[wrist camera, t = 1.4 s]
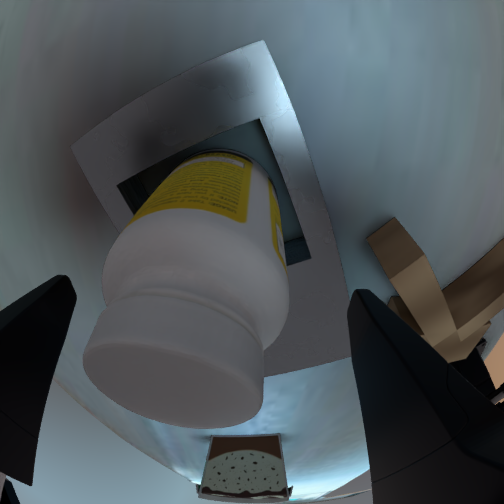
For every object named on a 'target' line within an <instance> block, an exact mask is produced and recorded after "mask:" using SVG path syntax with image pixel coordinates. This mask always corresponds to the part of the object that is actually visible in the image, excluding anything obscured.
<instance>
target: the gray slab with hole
mask: <svg viewBox="0 0 504 504" xmlns="http://www.w3.org/2000/svg"><path fill="white" fill-rule="evenodd" d="M258 118H260V120H261V123H262V125H263V128H264V130H265V132H266V135H267V137H268V140H269V142H270V145H271V147H272V150H273V152H274V155H275V157H276V160H277V163H278V165H279V168H280V170H281V173H282V176H283V178H284V181H285V184H286V186H287V189H288V192H289V194H290V197H291V200H292V203H293V205H294V208H295V211H296V214H297V217H298V219H299V222H300V225H301V228H302V231H303V234H304V237H301V238H298V239H295V240H292V241H289V242H286V243H284V250H285V258H286V267H287V275H288V282H289V311H288V316H287V319H286V322H285V324H284V327H283V329H282V331H281V332H280V334H279V335H278V337H277V338H276V339H275V341H274V342H273V343H272V344H271V345H270V346H269V347H267V348H266V349H265V350H264V357H263V359H264V377H268V376H273V375H278V374H283V373H288V372H292V371H297V370H301V369H305V368H310V367H314V366H318V365H322V364H325V363H329V362H333V361H337V360H340V359H344V358H347V357H351V348H350V338H349V329H348V321H347V310H348V307H349V304H350V300H349V296H348V291H347V286H346V282H345V277H344V273H343V269H342V265H341V260H340V256H339V252H338V248H337V245H336V241H335V237H334V233H333V229H332V226H331V222H330V218H329V215H328V211H327V208H326V205H325V201H324V198H323V194H322V191H321V188H320V185H319V181H318V178H317V175H316V172H315V169H314V166H313V163H312V160H311V157H310V154H309V151H308V148H307V145H306V142H305V140H304V137H303V134H302V131H301V128H300V126H299V123H298V120H297V118H296V115H295V112H294V110H293V107H292V105H291V102H290V100H289V97H288V95H287V92H286V90H285V87H284V85H283V82H282V80H281V78H280V75H279V73H278V71H277V68H276V66H275V64H274V62H273V59H272V57H271V55H270V53H269V50H268V48H267V46H266V44H265V42H264V40H262V41H259V42H256V43H253V44H250V45H247V46H245V47H242V48H239V49H236V50H234V51H231V52H229V53H226V54H224V55H221V56H219V57H216V58H214V59H212V60H209V61H207V62H205V63H203V64H200V65H198V66H196V67H194V68H192V69H190V70H188V71H186V72H184V73H182V74H180V75H178V76H176V77H174V78H172V79H170V80H168V81H166V82H164V83H162V84H161V85H159V86H157V87H155V88H153V89H152V90H150V91H148V92H147V93H145V94H143V95H142V96H140V97H138V98H137V99H135V100H133V101H132V102H130V103H129V104H127V105H125V106H124V107H122V108H121V109H119V110H118V111H116V112H115V113H113V114H112V115H110V116H109V117H108V118H106V119H105V120H103V121H102V122H101V123H99V124H98V125H96V126H95V127H94V128H92V129H91V130H90V131H88V132H87V133H86V134H85V135H83V136H82V137H81V138H79V139H78V140H77V141H76V142H74V143H73V144H72V145H71V146H70V148H71V150H72V152H73V154H74V156H75V158H76V160H77V162H78V164H79V165H80V167H81V169H82V171H83V173H84V175H85V177H86V178H87V180H88V182H89V184H90V186H91V187H92V189H93V191H94V193H95V194H96V196H97V198H98V199H99V201H100V203H101V205H102V206H103V208H104V210H105V211H106V213H107V214H108V216H109V218H110V219H111V221H112V223H113V224H114V226H115V227H116V229H117V230H118V232H119V234H121V232H122V231H123V230H124V228H125V227H126V226H127V224H128V223H129V222H130V220H131V219H132V218H133V217H134V215H135V214H136V213H137V212H138V210H139V209H140V208H141V207H142V205H143V204H144V203H145V202H146V201H147V200H148V198H149V197H148V195H147V193H146V191H145V190H144V188H143V186H142V184H141V182H140V181H139V179H138V177H137V175H136V174H137V173H139V172H141V171H142V170H144V169H146V168H148V167H150V166H152V165H154V164H156V163H158V162H159V161H161V160H163V159H165V158H167V157H169V156H171V155H173V154H175V153H178V152H180V151H182V150H184V149H186V148H188V147H190V146H192V145H194V144H197V143H199V142H201V141H203V140H206V139H208V138H210V137H212V136H215V135H217V134H220V133H222V132H224V131H227V130H229V129H232V128H234V127H237V126H239V125H242V124H244V123H247V122H250V121H252V120H255V119H258Z"/></svg>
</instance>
